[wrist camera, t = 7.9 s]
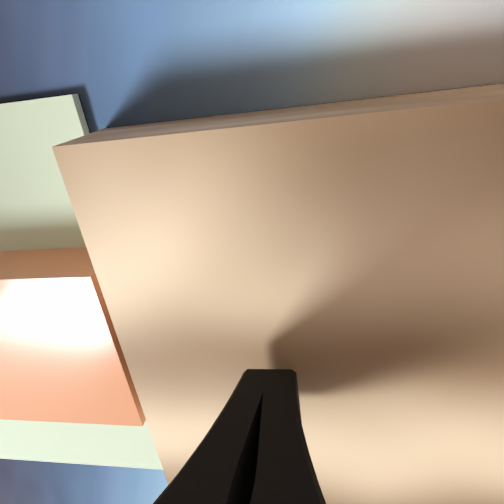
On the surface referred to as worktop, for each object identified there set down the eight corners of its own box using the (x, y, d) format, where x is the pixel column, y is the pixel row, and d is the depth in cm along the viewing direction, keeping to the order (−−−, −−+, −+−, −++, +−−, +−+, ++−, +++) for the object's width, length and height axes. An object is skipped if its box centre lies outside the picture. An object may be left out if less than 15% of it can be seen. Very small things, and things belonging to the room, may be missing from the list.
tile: (162, 383, 15) (142, 426, 13) (-31, 377, 17) (-71, 415, 15) (122, 245, 12) (90, 276, 11) (-102, 256, 14) (-162, 284, 12)
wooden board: (489, 468, 15) (519, 539, 13) (195, 451, 17) (177, 509, 15) (578, 75, 9) (664, 81, 7) (104, 128, 11) (51, 146, 9)
